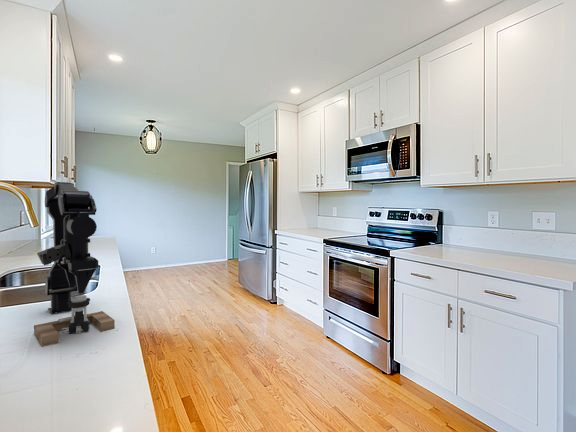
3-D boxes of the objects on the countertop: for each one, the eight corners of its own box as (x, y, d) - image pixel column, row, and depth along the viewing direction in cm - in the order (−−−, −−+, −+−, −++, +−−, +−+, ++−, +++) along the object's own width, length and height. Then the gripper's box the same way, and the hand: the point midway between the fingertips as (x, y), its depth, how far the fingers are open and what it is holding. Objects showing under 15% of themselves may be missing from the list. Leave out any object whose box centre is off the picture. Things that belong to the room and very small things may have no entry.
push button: (60, 337, 85) (60, 301, 85) (63, 330, 90) (63, 296, 89) (89, 333, 88) (89, 298, 88) (91, 326, 93) (90, 293, 93)
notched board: (34, 334, 87) (34, 323, 87) (102, 318, 100) (102, 309, 99) (41, 346, 80) (41, 335, 79) (114, 328, 92) (114, 318, 92)
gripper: (33, 234, 89) (34, 289, 89) (47, 240, 76) (48, 303, 77) (79, 232, 97) (80, 282, 97) (98, 237, 84) (99, 294, 85)
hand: (76, 290), depth 89 cm, fingers open, 9 cm apart
